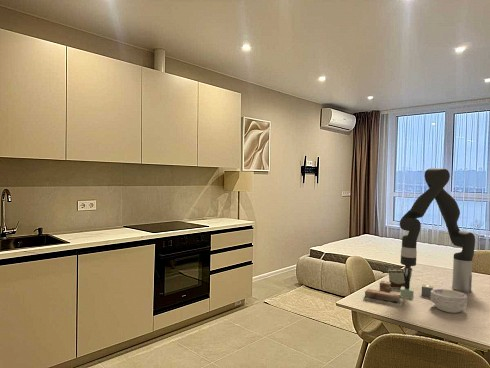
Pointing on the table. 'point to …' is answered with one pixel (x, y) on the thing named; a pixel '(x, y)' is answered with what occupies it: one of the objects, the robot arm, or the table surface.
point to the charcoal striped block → (426, 290)
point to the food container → (396, 277)
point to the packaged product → (383, 298)
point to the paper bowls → (448, 300)
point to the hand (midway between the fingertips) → (407, 288)
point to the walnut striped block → (385, 286)
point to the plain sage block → (406, 292)
